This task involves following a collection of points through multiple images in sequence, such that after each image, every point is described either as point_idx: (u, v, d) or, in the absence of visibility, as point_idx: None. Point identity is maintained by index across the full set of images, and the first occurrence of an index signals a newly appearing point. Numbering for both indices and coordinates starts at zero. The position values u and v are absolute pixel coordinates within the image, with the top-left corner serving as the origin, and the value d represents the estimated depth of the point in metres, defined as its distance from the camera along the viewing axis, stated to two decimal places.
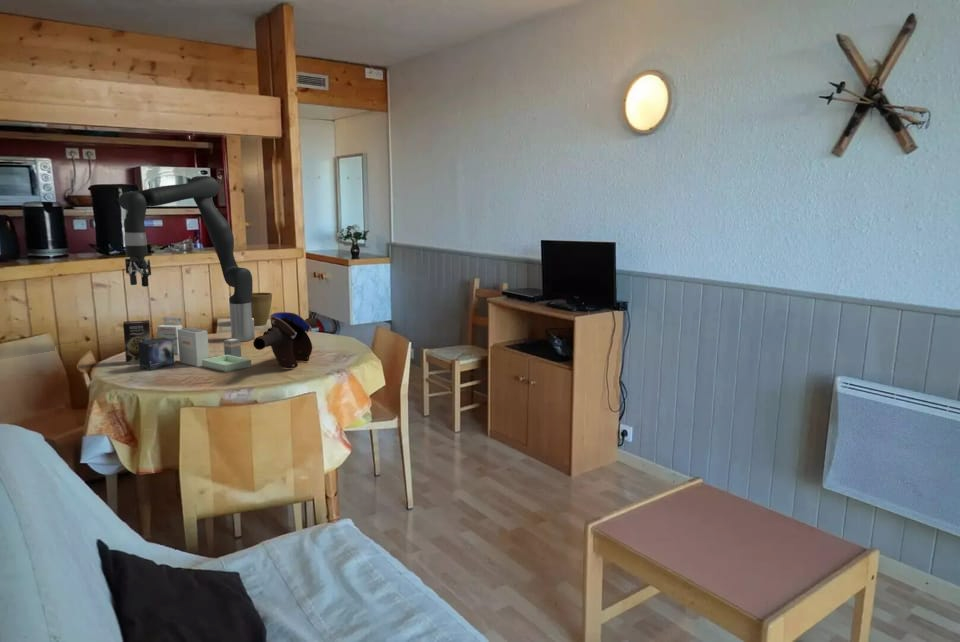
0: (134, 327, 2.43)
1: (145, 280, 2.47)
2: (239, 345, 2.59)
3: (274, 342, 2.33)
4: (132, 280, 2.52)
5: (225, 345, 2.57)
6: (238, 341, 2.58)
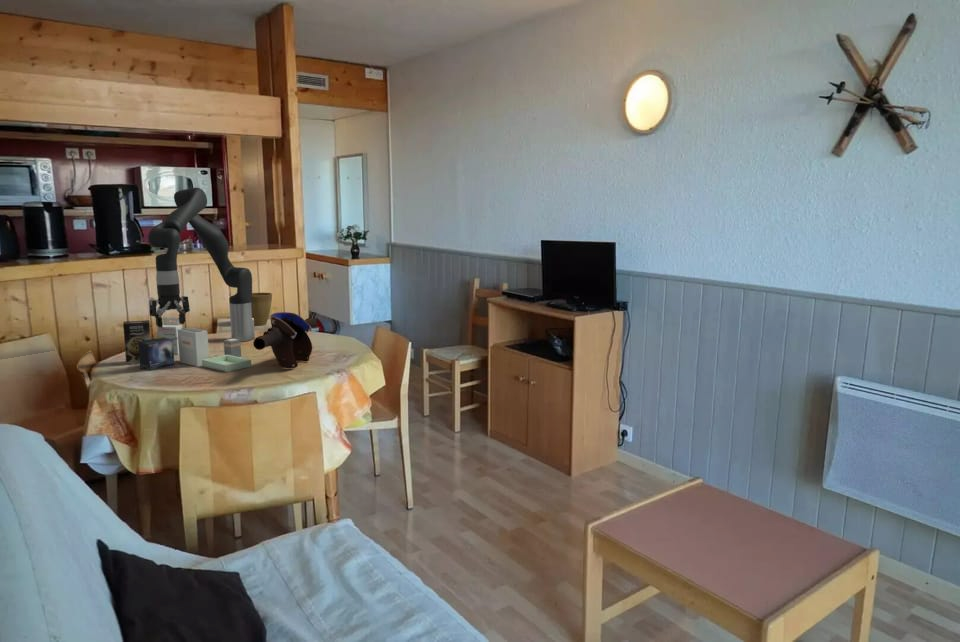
0: (134, 327, 2.43)
1: None
2: (239, 345, 2.59)
3: (274, 342, 2.33)
4: None
5: (225, 345, 2.57)
6: (238, 341, 2.58)
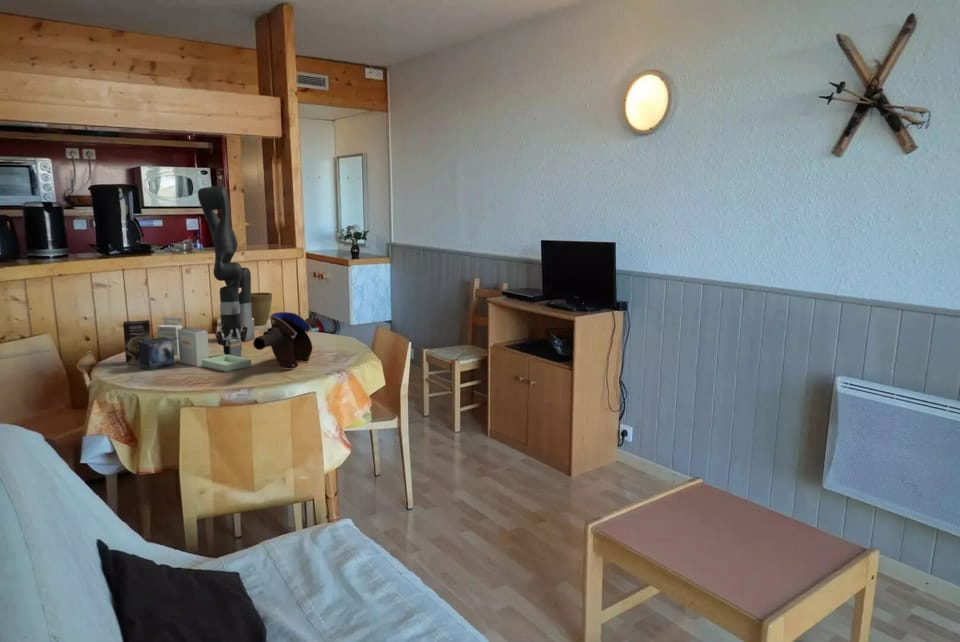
0: (134, 327, 2.43)
1: None
2: (239, 345, 2.59)
3: (274, 342, 2.33)
4: None
5: None
6: (238, 341, 2.58)
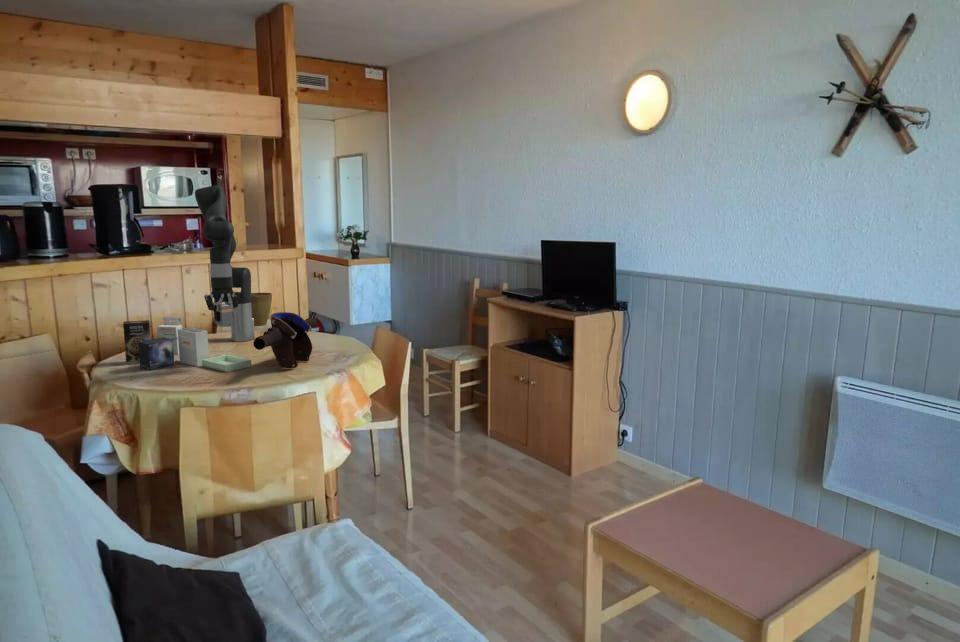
0: (134, 327, 2.43)
1: None
2: (230, 311, 2.40)
3: (274, 342, 2.33)
4: None
5: None
6: (230, 306, 2.40)
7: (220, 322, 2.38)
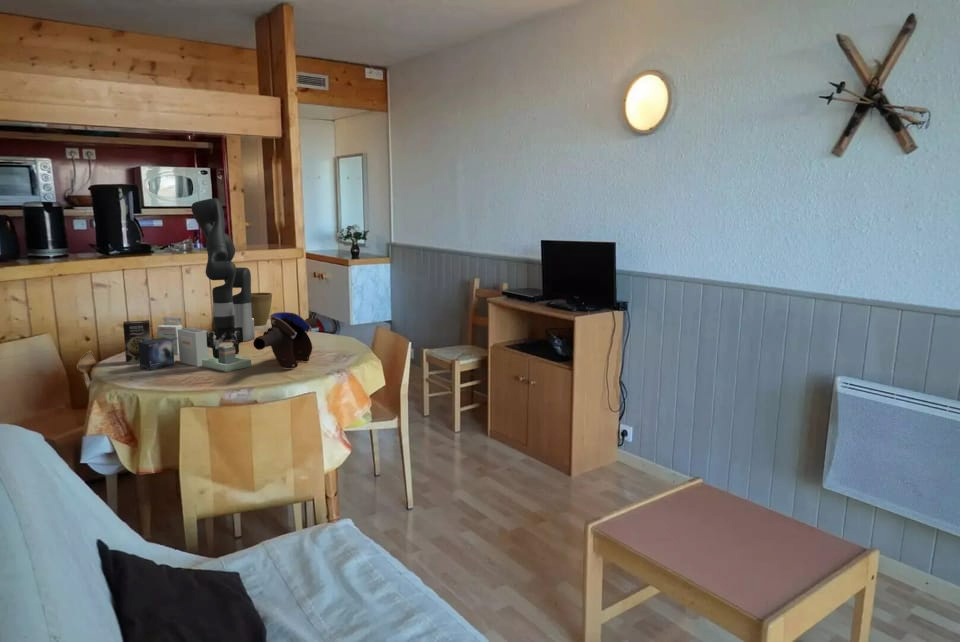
0: (134, 327, 2.43)
1: None
2: (233, 352, 2.43)
3: (274, 342, 2.33)
4: None
5: (219, 352, 2.42)
6: (233, 348, 2.43)
7: (223, 363, 2.41)
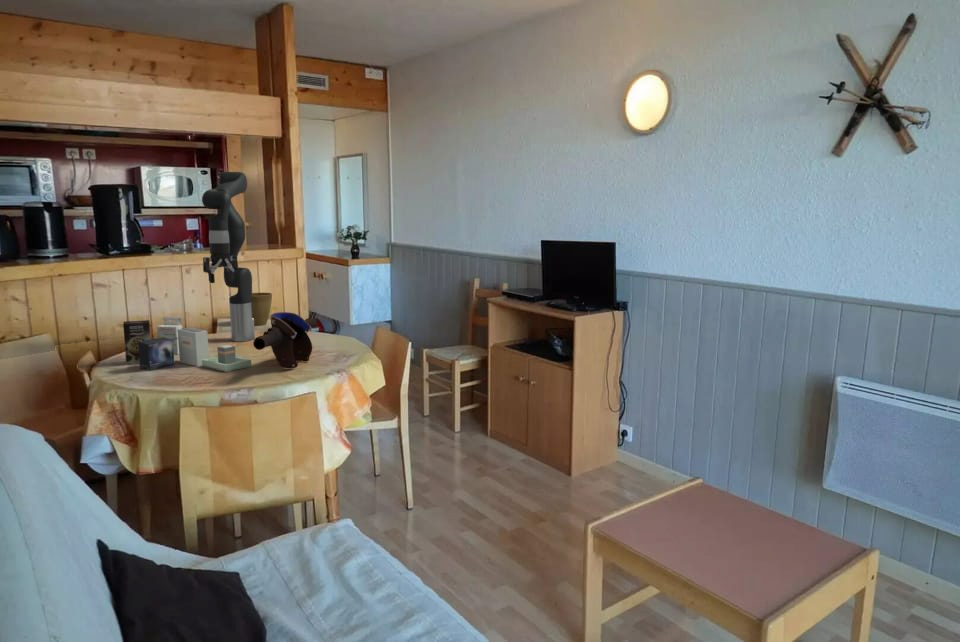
0: (134, 327, 2.43)
1: None
2: (233, 352, 2.43)
3: (274, 342, 2.33)
4: None
5: (219, 352, 2.42)
6: (233, 348, 2.43)
7: (223, 363, 2.41)
